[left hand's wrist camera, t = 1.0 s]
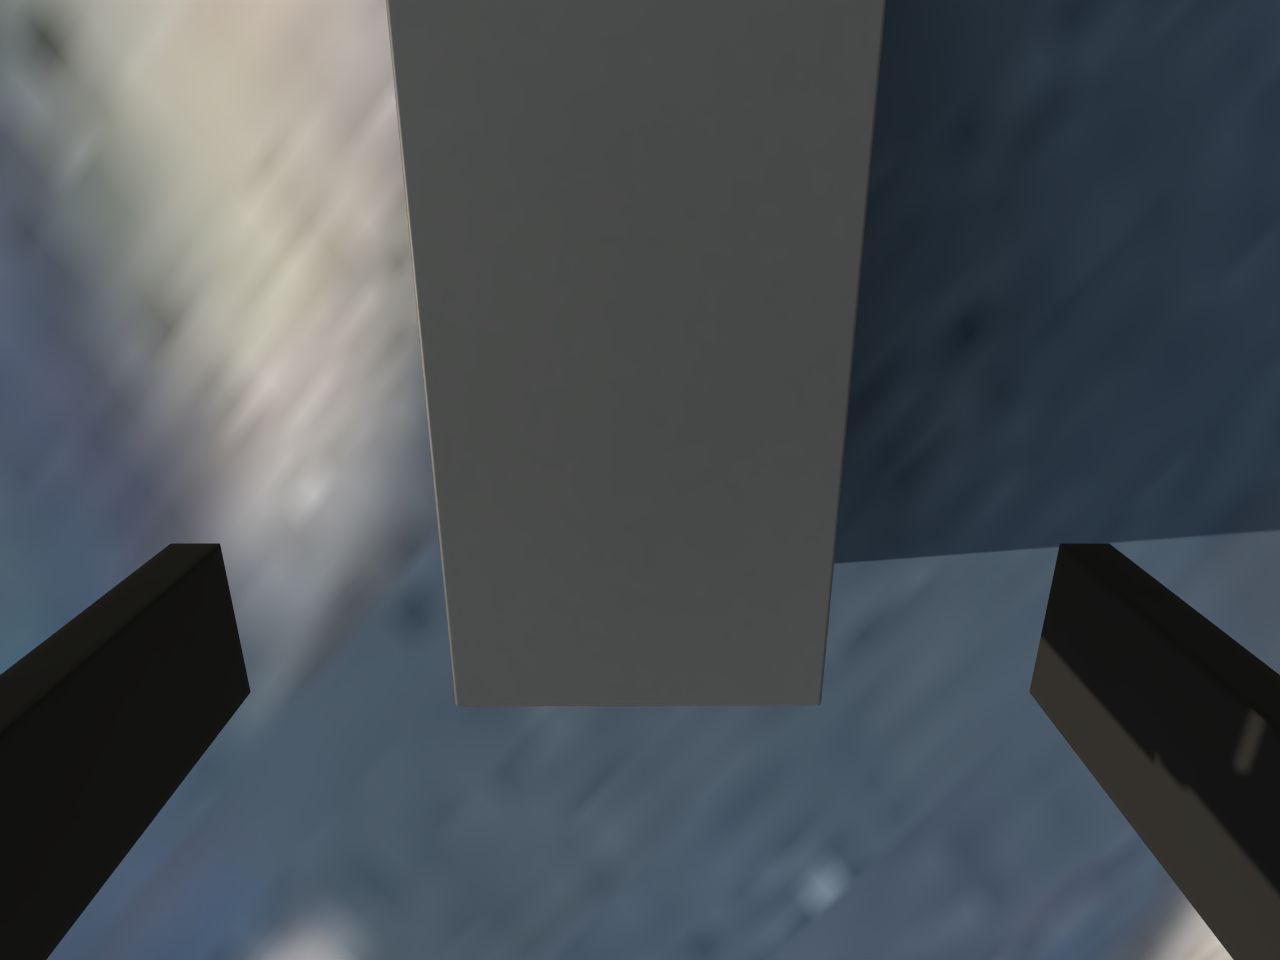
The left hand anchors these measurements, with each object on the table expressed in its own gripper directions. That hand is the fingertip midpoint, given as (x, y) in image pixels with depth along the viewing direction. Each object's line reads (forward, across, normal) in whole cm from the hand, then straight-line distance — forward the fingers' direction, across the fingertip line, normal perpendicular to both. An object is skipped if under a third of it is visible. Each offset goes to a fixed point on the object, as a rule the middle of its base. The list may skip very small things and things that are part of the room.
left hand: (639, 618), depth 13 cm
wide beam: (+12, 0, -25) cm, 28 cm away
